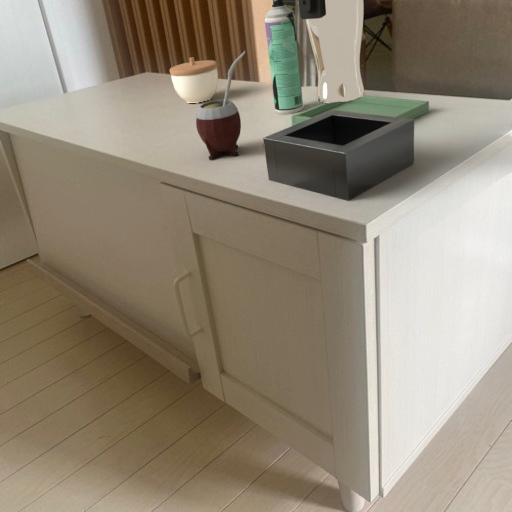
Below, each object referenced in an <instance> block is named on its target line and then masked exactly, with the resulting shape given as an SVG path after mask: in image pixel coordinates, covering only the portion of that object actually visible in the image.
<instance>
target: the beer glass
mask: <svg viewBox="0 0 512 512" xmlns="http://www.w3.org/2000/svg"><path fill="white" fill-rule="evenodd" d="M364 6H365V5H363V0H323V7H324V16H323V17H322V18H318V19H304V21H305V26H306V30H307V34H308V38H309V43H310V46H311V49H312V53H313V57H314V62H315V67H316V72H317V85H316V86H317V88H316V101H317V102H318V103H321V104H323V103H326V104H335V103H344V102H349V101H353V100H357V99H359V98H361V97H363V96H364V95H365V94H366V91H365V86H364V82H363V79H362V73H361V48H362V38H363V29H364V10H365V8H364Z"/></svg>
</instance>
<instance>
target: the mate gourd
mask: <svg viewBox="0 0 512 512" xmlns="http://www.w3.org/2000/svg"><path fill="white" fill-rule="evenodd" d="M245 54H246V50H244V51H243V52H242V53H241V54H240V55H239V56H238V57H237V58H236V59H235V60H234V61H233V63H232V64H231V65H230V68H228V71H227V80H226V81H227V82H226V86H225V92H224V99H217V100H210V101H206V102H203V103H201V104H200V105H199V106H198V109H197V111H196V115H195V124H196V125H195V126H196V130H197V133H198V135H199V138H200V139H201V141H202V142H203V143H204V144H205V146H206V149H207V151H208V153H209V156H208V160H209V161H214V160H215V159H217V158H221V157H222V156H230V157H238V156H239V153H240V152H238V151H237V149H239V145H238V140H239V139H240V135H241V129H242V122H241V115H240V112H239V109H238V107H237V106H236V104H235V103H234V102H233V101H232V100H229V95H230V90H231V83H232V77H233V76H234V73H235V68H236V67H237V64H238V63H239V62H240V61H241V59H242V58H243V57H244V55H245Z"/></svg>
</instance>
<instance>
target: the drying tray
mask: <svg viewBox="0 0 512 512" xmlns="http://www.w3.org/2000/svg"><path fill="white" fill-rule="evenodd" d="M429 109H430V101H428V100H420V99H409V98H400V97H399V98H398V97H385V96H374V95H365V94H364V96H363V97H361V98H359V99H357V100H353V101H349V102H344V103H335V104H326V103H321V104H319V105H316V106H314V107H311V108H309V109H306V110H304V111H303V110H302V111H300V112H297V113H296V114H293V115H291V116H290V118H291V126H293V125H296V124H298V123H301V122H303V121H305V120H308V119H310V118H313V117H315V116H318V115H320V114H322V113H325V112H327V111H330V110H337V111H346V112H355V113H363V114H372V115H380V116H389V117H397V118H405V119H414V120H415V119H416V118H418V117H422V115H424V114H427V113H429V111H430V110H429Z"/></svg>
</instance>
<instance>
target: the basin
mask: <svg viewBox="0 0 512 512" xmlns="http://www.w3.org/2000/svg"><path fill="white" fill-rule="evenodd" d="M262 139H263V146H264V147H263V148H264V155H265V164H266V171H267V178H268V181H272V182H276V183H279V184H283V185H287V186H290V187H295V188H299V189H303V190H305V191H309V192H314V193H318V194H320V195H321V194H322V195H325V196H329V197H333V198H336V199H341V200H344V201H347V202H349V201H350V200H352V199H354V198H356V197H357V196H360V195H361V194H363V193H364V192H366V191H368V190H370V189H372V188H374V187H375V186H377V185H379V184H380V183H382V182H383V181H386V180H388V179H389V178H391V177H392V176H394V175H396V174H398V173H400V172H402V171H403V170H405V169H406V168H408V167H410V166H412V165H413V164H415V119H405V118H397V117H389V116H380V115H372V114H363V113H355V112H346V111H337V110H330V111H327V112H325V113H322V114H320V115H318V116H315V117H313V118H310V119H308V120H305V121H303V122H301V123H298V124H296V125H293V126H292V125H291V126H289V127H287V128H283V129H282V130H279V131H277V132H274V133H272V134H269V135H267V136H265V137H263V138H262Z"/></svg>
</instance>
